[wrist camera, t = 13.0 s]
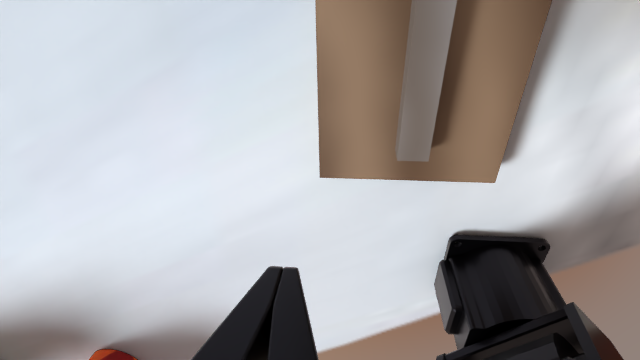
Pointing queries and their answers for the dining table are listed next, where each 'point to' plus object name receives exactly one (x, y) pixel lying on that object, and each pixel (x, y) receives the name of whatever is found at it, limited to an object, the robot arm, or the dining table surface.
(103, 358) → the paper cup
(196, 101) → the dining table surface
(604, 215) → the dining table surface
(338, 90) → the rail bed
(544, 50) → the dining table surface
